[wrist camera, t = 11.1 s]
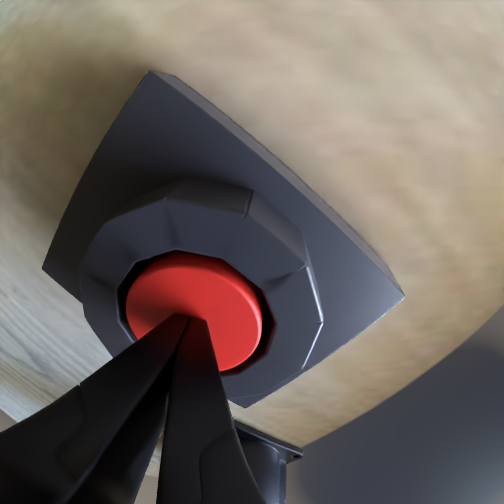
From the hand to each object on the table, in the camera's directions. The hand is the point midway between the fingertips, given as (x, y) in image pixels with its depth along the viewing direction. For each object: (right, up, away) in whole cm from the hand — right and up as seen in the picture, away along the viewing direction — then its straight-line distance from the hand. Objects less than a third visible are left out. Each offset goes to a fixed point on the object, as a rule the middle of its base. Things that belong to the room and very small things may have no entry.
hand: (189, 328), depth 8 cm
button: (0, +1, +2) cm, 2 cm away
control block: (0, +2, +4) cm, 4 cm away
